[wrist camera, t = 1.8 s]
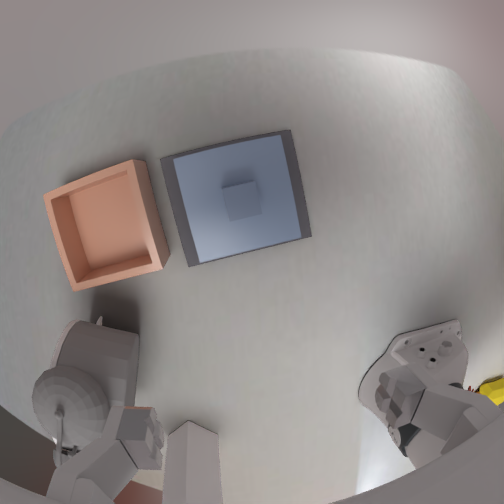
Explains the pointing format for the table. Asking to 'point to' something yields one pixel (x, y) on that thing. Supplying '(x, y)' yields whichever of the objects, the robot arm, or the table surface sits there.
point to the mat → (168, 162)
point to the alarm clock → (85, 384)
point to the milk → (192, 467)
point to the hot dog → (493, 391)
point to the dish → (107, 226)
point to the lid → (238, 197)
